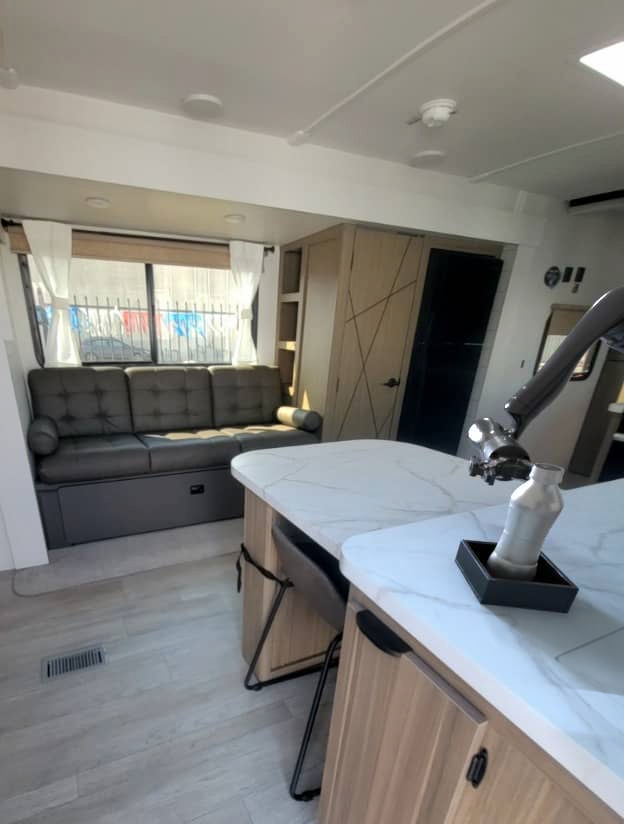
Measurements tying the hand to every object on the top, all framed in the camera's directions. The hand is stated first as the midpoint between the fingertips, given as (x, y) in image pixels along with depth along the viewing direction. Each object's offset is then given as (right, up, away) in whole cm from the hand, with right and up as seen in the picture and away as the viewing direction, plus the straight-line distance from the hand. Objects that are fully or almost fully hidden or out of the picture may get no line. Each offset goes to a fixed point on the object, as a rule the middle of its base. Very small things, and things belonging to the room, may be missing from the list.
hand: (520, 484), depth 70 cm
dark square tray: (-4, -17, -2) cm, 18 cm away
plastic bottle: (-4, -16, -2) cm, 17 cm away
